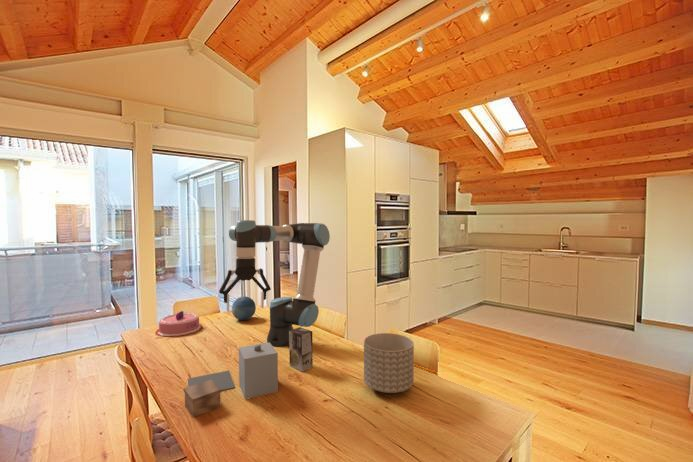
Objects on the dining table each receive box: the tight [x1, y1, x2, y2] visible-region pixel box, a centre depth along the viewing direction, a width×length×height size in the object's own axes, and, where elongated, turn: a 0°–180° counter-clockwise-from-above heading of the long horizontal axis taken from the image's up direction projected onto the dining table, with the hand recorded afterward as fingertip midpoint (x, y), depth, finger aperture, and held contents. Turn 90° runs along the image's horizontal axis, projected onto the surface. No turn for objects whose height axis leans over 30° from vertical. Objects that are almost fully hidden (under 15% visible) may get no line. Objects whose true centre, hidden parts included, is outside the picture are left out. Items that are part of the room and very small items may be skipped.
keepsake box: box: [183, 380, 223, 418], centre depth 116 cm, size 10×10×6 cm
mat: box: [187, 370, 236, 391], centre depth 132 cm, size 16×16×1 cm
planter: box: [363, 332, 415, 394], centre depth 129 cm, size 19×19×18 cm
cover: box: [238, 342, 279, 400], centre depth 128 cm, size 12×12×16 cm
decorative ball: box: [231, 296, 257, 321], centre depth 215 cm, size 15×15×15 cm
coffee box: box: [288, 326, 314, 372], centre depth 147 cm, size 9×6×16 cm
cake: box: [155, 310, 204, 338], centre depth 196 cm, size 25×25×11 cm
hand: (245, 309), depth 137 cm, fingers open, 13 cm apart
